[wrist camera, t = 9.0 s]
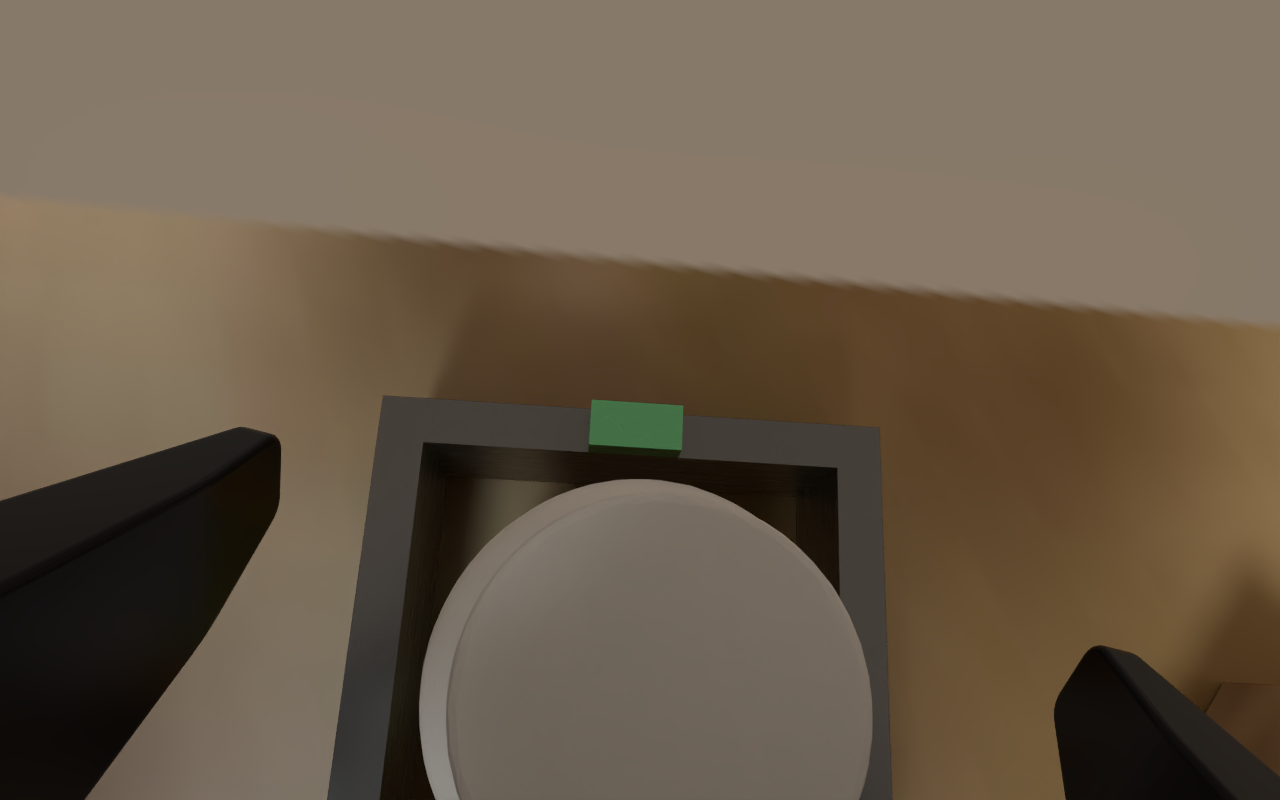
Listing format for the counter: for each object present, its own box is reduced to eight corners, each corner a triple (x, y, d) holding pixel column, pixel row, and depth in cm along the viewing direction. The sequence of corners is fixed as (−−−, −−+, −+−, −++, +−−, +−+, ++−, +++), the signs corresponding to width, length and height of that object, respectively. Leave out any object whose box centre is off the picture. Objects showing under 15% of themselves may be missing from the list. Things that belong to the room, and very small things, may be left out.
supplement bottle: (457, 569, 18) (328, 470, 8) (714, 519, 18) (862, 376, 9) (498, 856, 16) (398, 1131, 7) (775, 791, 17) (1029, 960, 7)
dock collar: (840, 932, 16) (914, 1008, 13) (352, 918, 16) (289, 992, 12) (832, 462, 19) (890, 419, 15) (412, 436, 18) (375, 385, 15)
